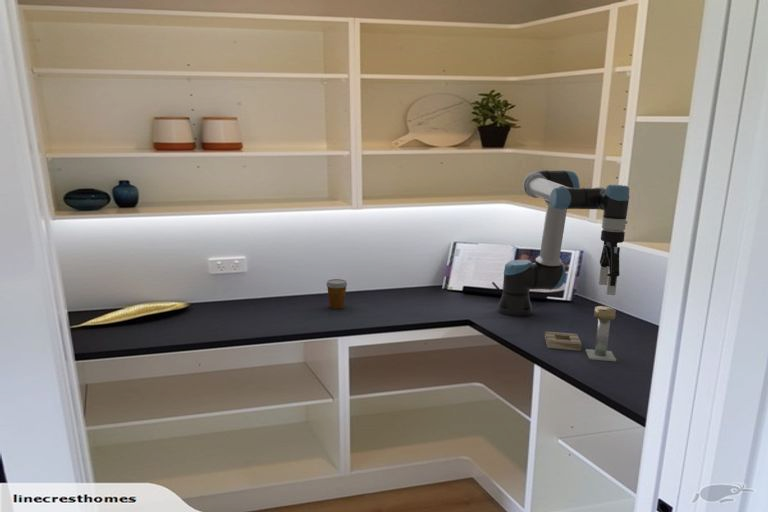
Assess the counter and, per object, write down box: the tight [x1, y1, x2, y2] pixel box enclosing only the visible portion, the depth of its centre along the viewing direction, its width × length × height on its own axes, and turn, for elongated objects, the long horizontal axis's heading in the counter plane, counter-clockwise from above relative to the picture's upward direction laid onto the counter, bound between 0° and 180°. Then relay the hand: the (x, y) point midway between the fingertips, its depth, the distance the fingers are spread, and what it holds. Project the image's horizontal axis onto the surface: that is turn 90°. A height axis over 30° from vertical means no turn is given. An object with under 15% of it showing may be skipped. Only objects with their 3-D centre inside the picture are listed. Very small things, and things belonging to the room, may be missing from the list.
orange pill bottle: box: [326, 278, 348, 310], centre depth 255 cm, size 10×10×12 cm
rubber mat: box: [584, 348, 617, 363], centre depth 203 cm, size 9×9×1 cm
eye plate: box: [544, 331, 583, 352], centre depth 214 cm, size 12×12×2 cm
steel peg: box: [593, 305, 617, 356], centre depth 201 cm, size 7×7×17 cm
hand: (606, 289), depth 198 cm, fingers open, 13 cm apart
